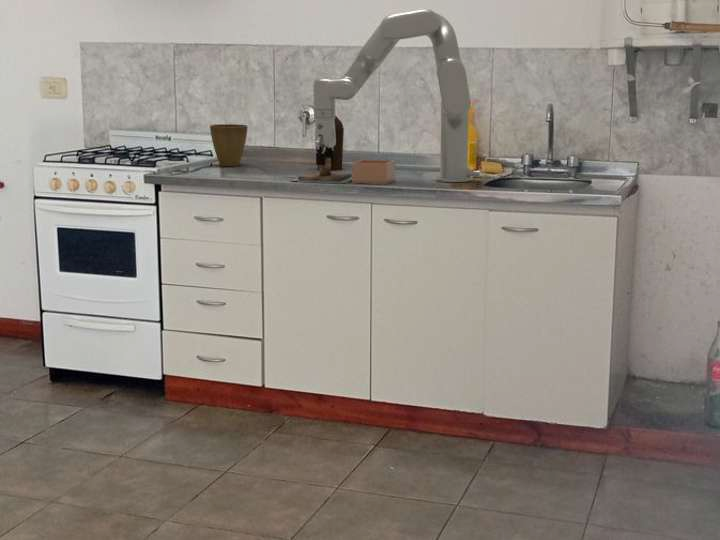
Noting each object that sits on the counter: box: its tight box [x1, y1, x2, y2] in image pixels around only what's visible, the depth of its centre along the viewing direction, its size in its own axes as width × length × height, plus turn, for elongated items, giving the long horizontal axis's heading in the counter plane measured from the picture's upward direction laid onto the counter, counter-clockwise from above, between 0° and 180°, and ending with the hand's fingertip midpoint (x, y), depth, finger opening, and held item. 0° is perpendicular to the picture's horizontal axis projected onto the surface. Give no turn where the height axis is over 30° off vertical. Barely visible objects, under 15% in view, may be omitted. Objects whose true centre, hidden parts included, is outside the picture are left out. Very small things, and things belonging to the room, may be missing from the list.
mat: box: [290, 176, 353, 184], centre depth 371 cm, size 20×16×1 cm
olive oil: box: [317, 114, 345, 171], centre depth 404 cm, size 11×11×25 cm
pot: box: [352, 159, 396, 185], centre depth 365 cm, size 12×12×7 cm
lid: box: [297, 158, 353, 182], centre depth 370 cm, size 15×15×7 cm
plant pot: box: [209, 123, 249, 167], centre depth 417 cm, size 15×15×16 cm
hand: (324, 163), depth 370 cm, fingers open, 9 cm apart
